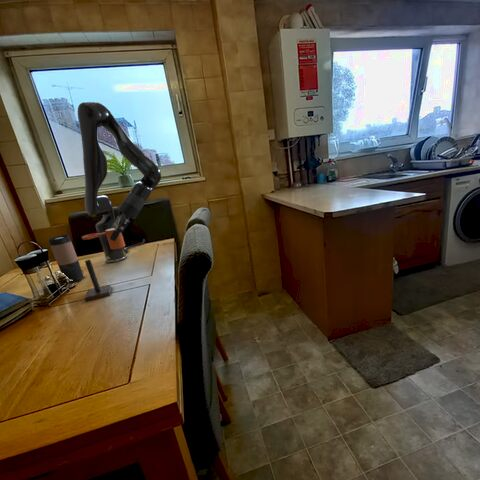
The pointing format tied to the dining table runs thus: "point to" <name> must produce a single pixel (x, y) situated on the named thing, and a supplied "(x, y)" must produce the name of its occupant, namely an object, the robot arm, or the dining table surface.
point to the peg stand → (96, 285)
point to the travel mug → (66, 257)
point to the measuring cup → (113, 244)
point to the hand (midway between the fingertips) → (110, 238)
